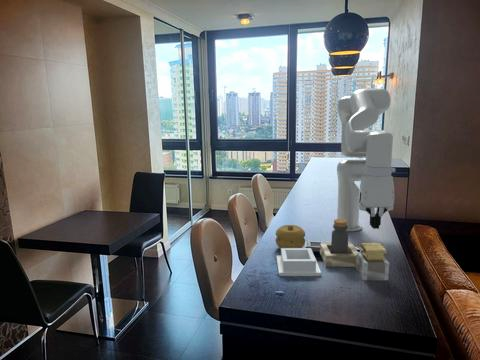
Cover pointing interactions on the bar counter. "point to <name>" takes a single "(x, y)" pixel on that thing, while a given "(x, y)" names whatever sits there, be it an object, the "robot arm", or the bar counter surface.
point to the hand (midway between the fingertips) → (374, 227)
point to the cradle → (297, 262)
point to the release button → (373, 252)
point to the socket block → (355, 262)
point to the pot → (290, 237)
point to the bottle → (339, 237)
